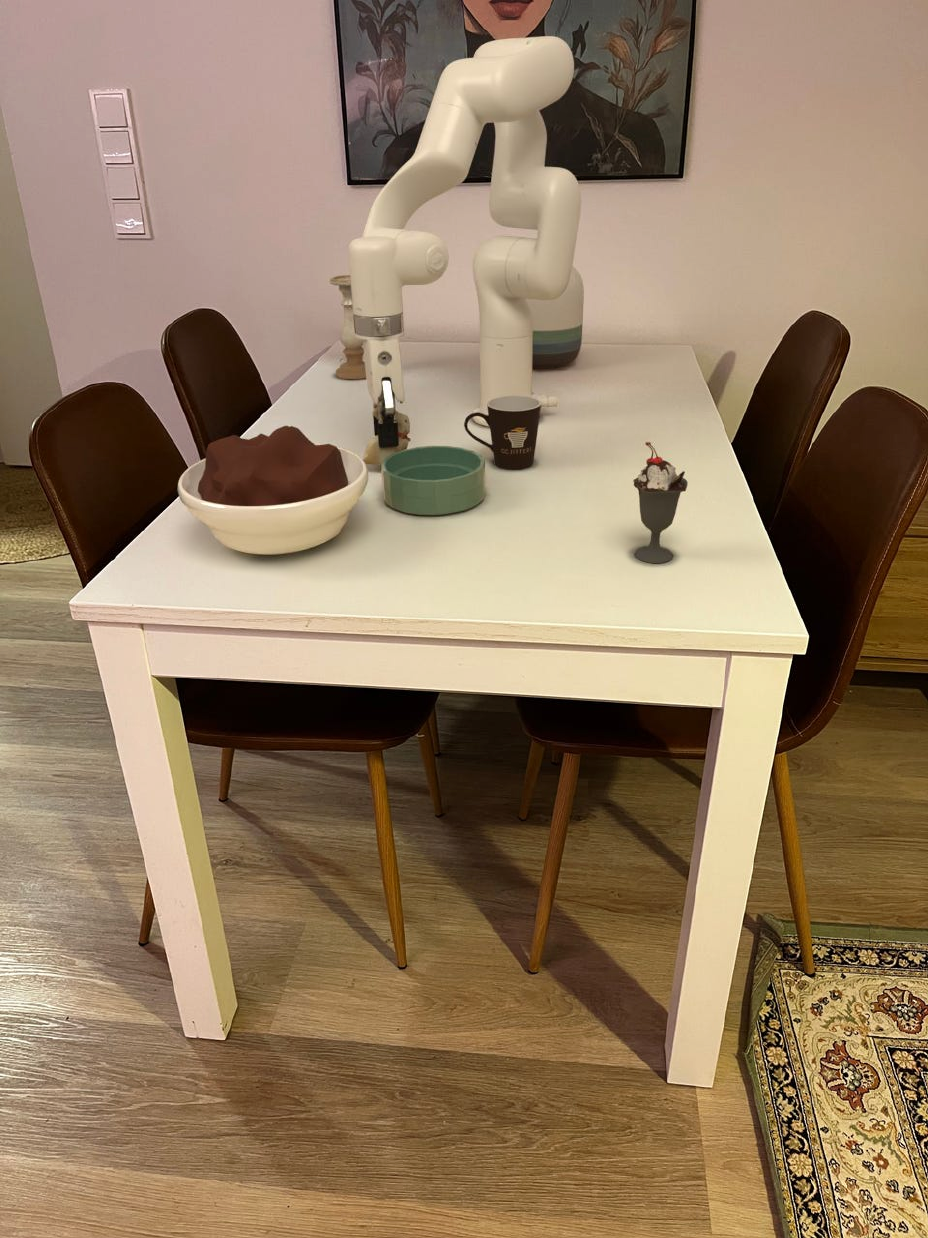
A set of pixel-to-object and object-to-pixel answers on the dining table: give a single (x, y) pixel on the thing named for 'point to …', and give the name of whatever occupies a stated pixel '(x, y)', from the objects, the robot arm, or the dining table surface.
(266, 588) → the dining table surface
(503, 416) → the coffee mug
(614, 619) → the dining table surface
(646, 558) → the sundae
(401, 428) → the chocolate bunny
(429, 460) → the bowl
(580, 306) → the vase
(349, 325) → the candle holder
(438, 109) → the robot arm
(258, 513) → the cream round dish
